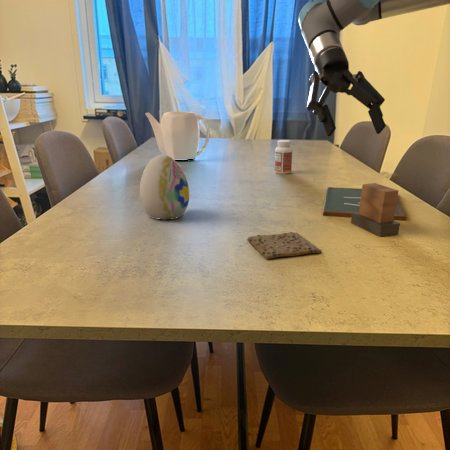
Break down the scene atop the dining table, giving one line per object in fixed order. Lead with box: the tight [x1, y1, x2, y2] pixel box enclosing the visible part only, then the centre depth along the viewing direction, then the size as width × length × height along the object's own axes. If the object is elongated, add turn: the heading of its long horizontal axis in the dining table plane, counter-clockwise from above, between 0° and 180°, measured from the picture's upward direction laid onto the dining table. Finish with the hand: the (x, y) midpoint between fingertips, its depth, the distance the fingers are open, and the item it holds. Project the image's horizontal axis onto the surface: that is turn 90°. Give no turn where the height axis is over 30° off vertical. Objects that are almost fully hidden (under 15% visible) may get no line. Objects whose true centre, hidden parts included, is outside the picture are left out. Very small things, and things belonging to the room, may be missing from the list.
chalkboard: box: [322, 186, 407, 221], centre depth 120 cm, size 20×28×1 cm
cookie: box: [246, 231, 323, 260], centre depth 90 cm, size 12×12×1 cm
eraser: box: [350, 182, 401, 238], centre depth 98 cm, size 11×5×10 cm, turn 20°
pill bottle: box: [273, 139, 293, 175], centre depth 157 cm, size 6×6×11 cm
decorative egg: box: [139, 154, 190, 220], centre depth 107 cm, size 12×12×15 cm
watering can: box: [144, 110, 211, 160], centre depth 181 cm, size 16×27×19 cm, turn 88°
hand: (357, 131), depth 100 cm, fingers open, 13 cm apart
